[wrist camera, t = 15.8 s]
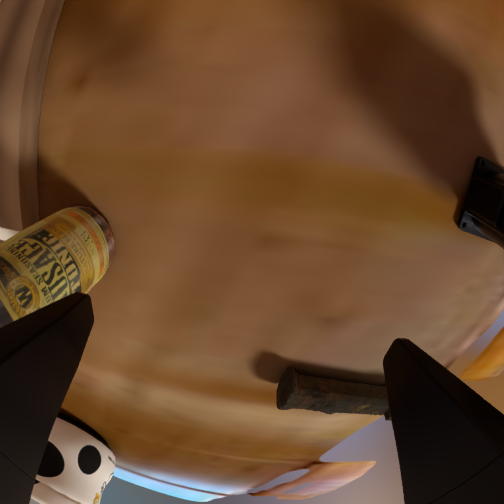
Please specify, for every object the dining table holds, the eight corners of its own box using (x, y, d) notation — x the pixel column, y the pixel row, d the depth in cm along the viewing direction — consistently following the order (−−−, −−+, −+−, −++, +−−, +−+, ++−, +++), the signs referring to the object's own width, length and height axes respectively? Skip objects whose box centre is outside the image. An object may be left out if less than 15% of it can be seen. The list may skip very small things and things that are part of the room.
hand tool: (271, 383, 28) (273, 420, 24) (288, 360, 26) (292, 398, 22) (401, 401, 30) (411, 428, 26) (421, 382, 29) (433, 410, 25)
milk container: (125, 463, 42) (107, 533, 25) (53, 434, 40) (27, 496, 24) (112, 428, 34) (83, 523, 18) (26, 390, 33) (-13, 467, 17)
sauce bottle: (132, 258, 21) (-10, 497, 3) (81, 279, 22) (-44, 463, 4) (94, 183, 19) (-133, 362, 1) (46, 215, 20) (-124, 367, 2)
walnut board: (83, -44, 10) (68, -54, 7) (51, 293, 23) (37, 307, 21) (28, -23, 9) (12, -28, 7) (7, 277, 23) (-7, 290, 20)
